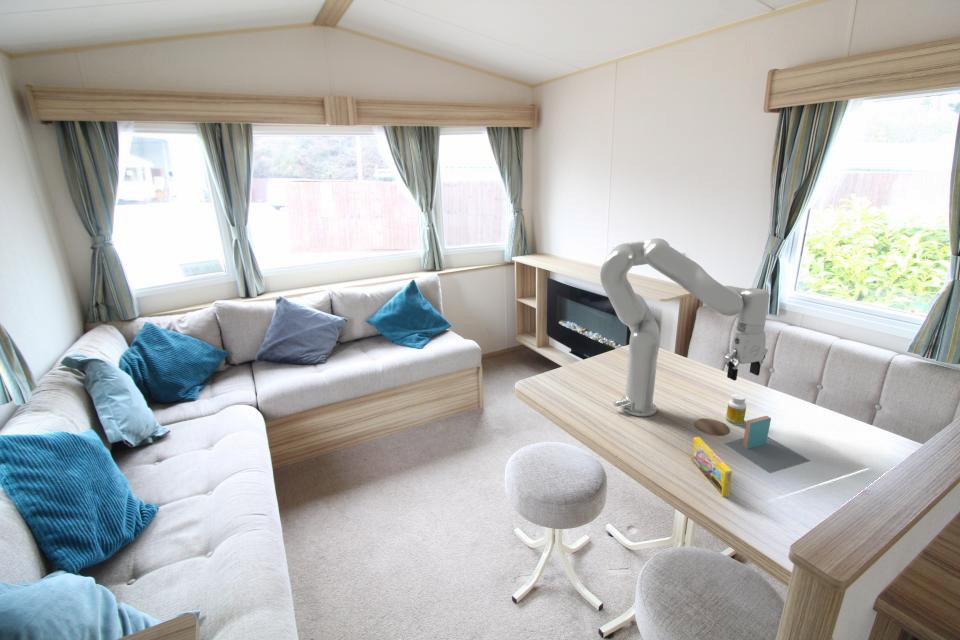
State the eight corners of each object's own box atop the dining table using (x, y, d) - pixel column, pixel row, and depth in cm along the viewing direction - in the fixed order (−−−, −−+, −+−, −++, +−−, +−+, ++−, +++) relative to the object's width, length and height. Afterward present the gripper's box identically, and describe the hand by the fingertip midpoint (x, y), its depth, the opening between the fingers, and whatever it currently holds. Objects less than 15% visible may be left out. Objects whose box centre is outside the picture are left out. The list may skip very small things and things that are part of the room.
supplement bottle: (736, 427, 153) (741, 401, 150) (721, 420, 158) (725, 395, 155) (746, 423, 156) (751, 398, 153) (732, 416, 160) (736, 391, 157)
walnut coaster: (711, 439, 147) (711, 438, 147) (686, 423, 157) (686, 422, 157) (737, 432, 150) (737, 431, 150) (711, 417, 160) (711, 416, 160)
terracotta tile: (746, 448, 141) (751, 423, 138) (742, 446, 143) (746, 420, 140) (766, 443, 144) (771, 418, 141) (761, 440, 145) (766, 415, 142)
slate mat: (769, 474, 130) (769, 472, 130) (723, 444, 144) (723, 443, 144) (810, 461, 135) (810, 460, 135) (762, 434, 149) (762, 433, 149)
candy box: (689, 461, 137) (693, 436, 134) (696, 460, 137) (700, 436, 134) (721, 497, 121) (726, 470, 119) (729, 496, 122) (733, 470, 119)
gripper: (739, 334, 140) (732, 385, 145) (781, 327, 145) (772, 376, 151) (719, 327, 147) (713, 376, 152) (760, 320, 152) (753, 367, 157)
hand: (743, 376), depth 151 cm, fingers open, 9 cm apart
